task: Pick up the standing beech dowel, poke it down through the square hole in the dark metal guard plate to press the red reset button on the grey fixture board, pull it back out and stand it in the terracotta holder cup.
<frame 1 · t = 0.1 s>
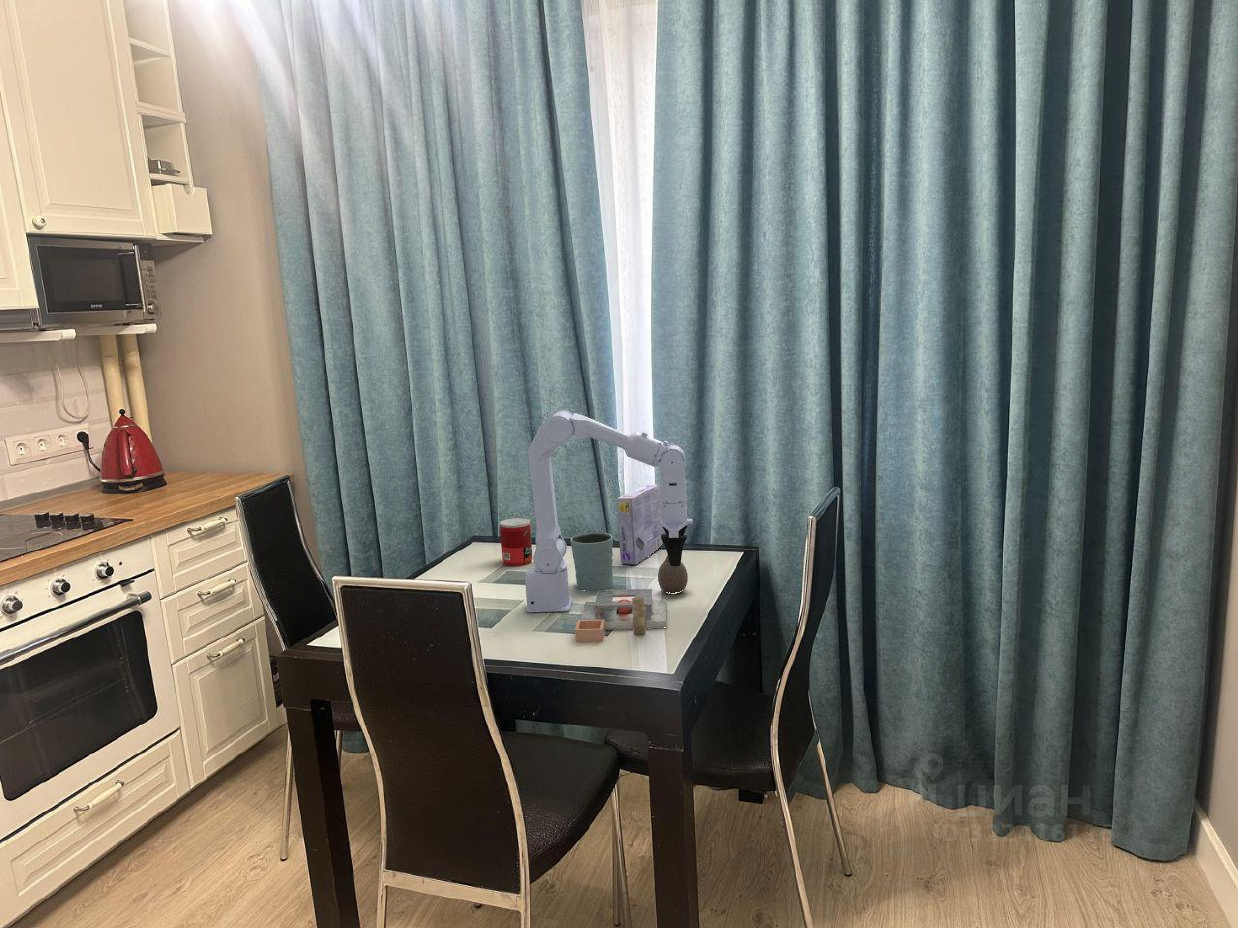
hand: (675, 560, 202), 10 cm above the table, tool pointing down, fingers open, 7 cm apart
grey fixture board: (624, 618, 196), on the table
vase: (673, 592, 212), on the table
holder: (590, 636, 187), on the table
canned food: (517, 562, 241), on the table
cake pan box: (642, 556, 242), on the table
stylus: (639, 633, 187), on the table
green cylindrical pot: (594, 586, 219), on the table
reset button: (624, 607, 196), point 2 cm above the table, slide at 0.0 cm
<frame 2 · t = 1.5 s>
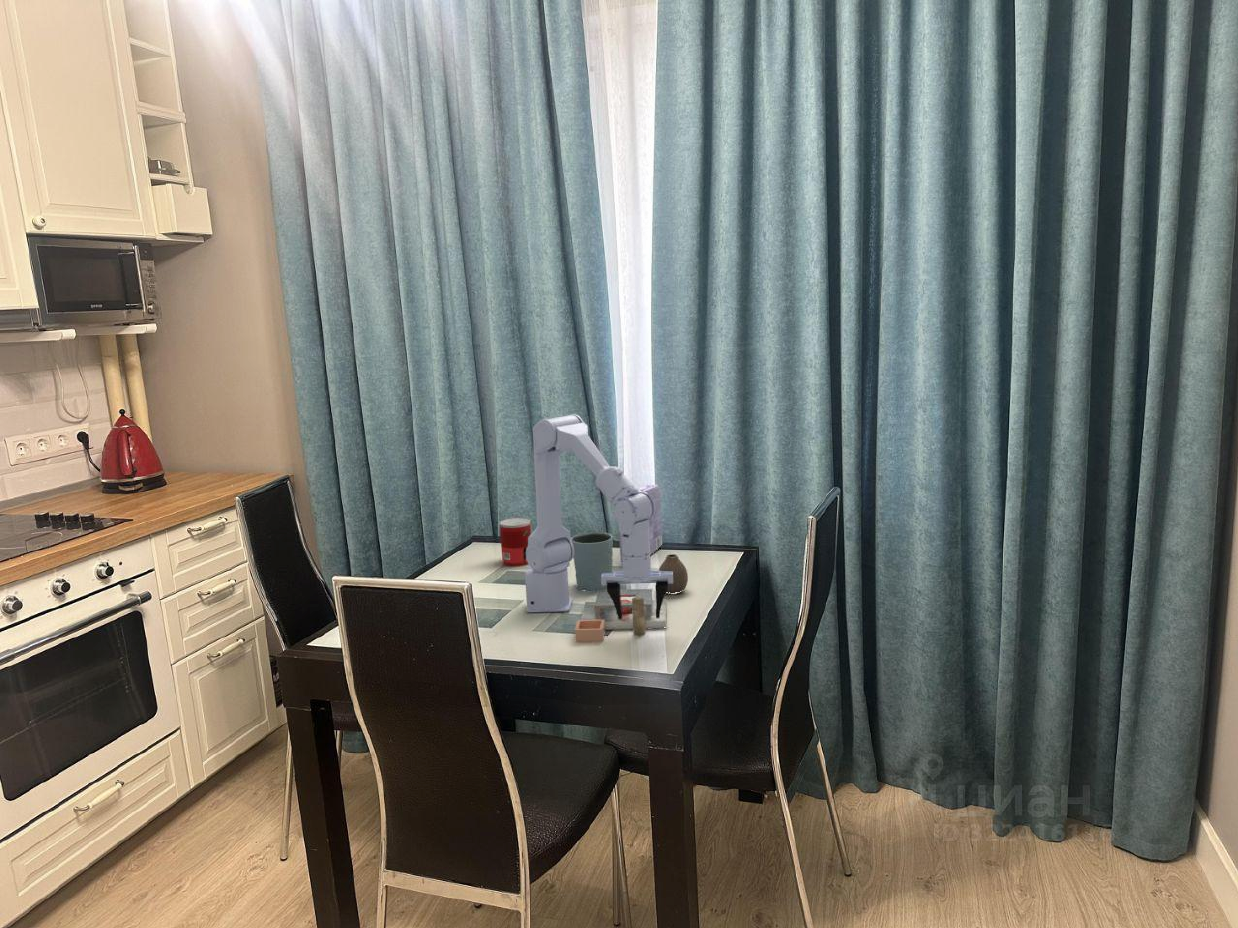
hand: (639, 617, 187), 4 cm above the table, tool pointing down, fingers open, 7 cm apart
nothing on the table moved.
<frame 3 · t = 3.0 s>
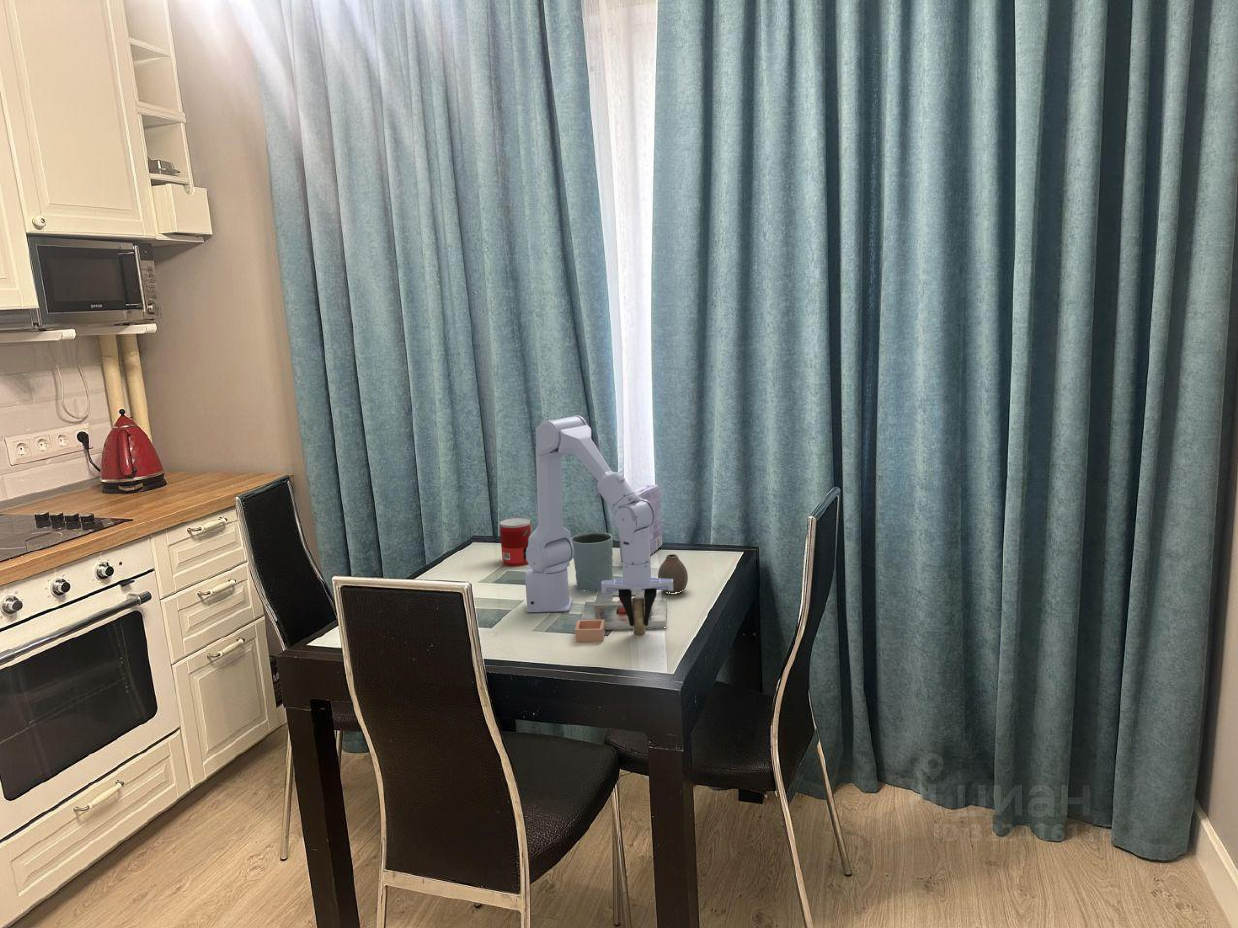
hand: (639, 624, 187), 2 cm above the table, tool pointing down, fingers closed on stylus, 2 cm apart
stylus: (639, 633, 187), on the table, touching gripper
everything else where it was.
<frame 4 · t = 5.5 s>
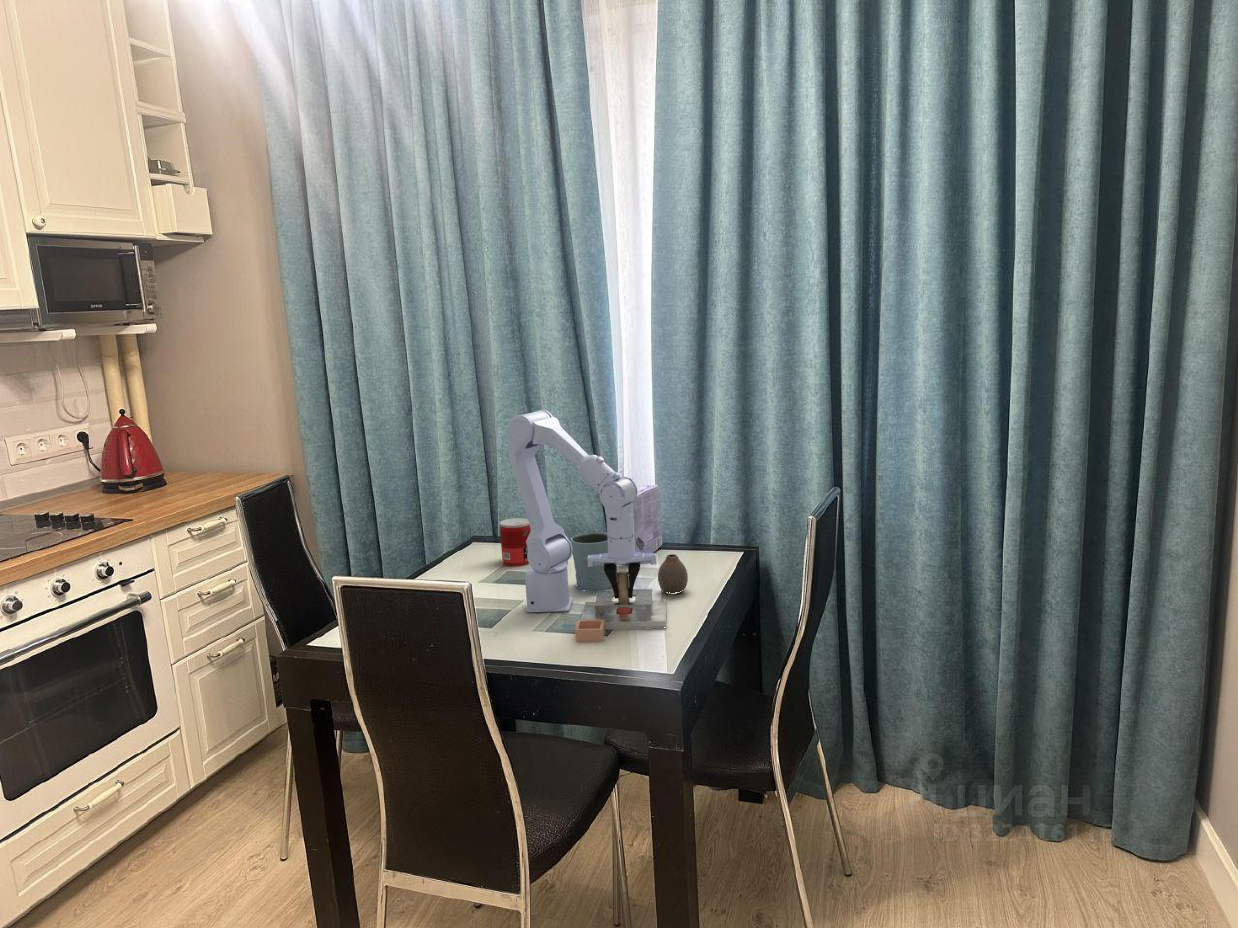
hand: (623, 596, 195), 5 cm above the table, tool pointing down, fingers closed on stylus, 2 cm apart
stylus: (624, 606, 196), point 3 cm above the table, touching gripper, reset button
reset button: (624, 611, 196), point 1 cm above the table, slide at 1.0 cm, touching stylus
everything else where it was.
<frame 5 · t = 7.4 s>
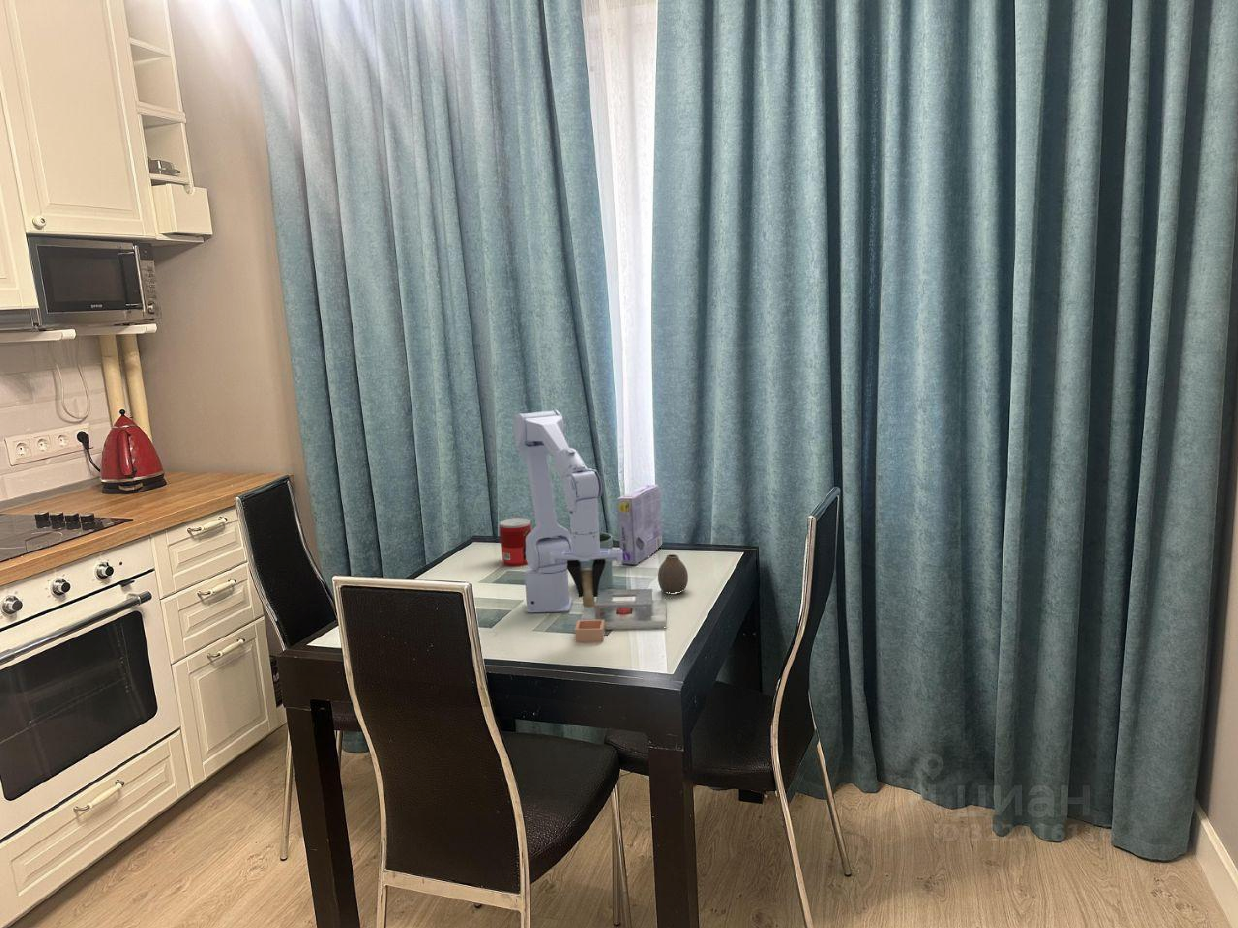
hand: (588, 595, 185), 9 cm above the table, tool pointing down, fingers closed on stylus, 2 cm apart
stylus: (588, 605, 186), point 7 cm above the table, touching gripper
reset button: (624, 611, 196), point 1 cm above the table, slide at 1.0 cm
everything else where it was.
when the fingers open (3 cm above the table, at t = 8.9 s): stylus stays where it is, resting on holder.
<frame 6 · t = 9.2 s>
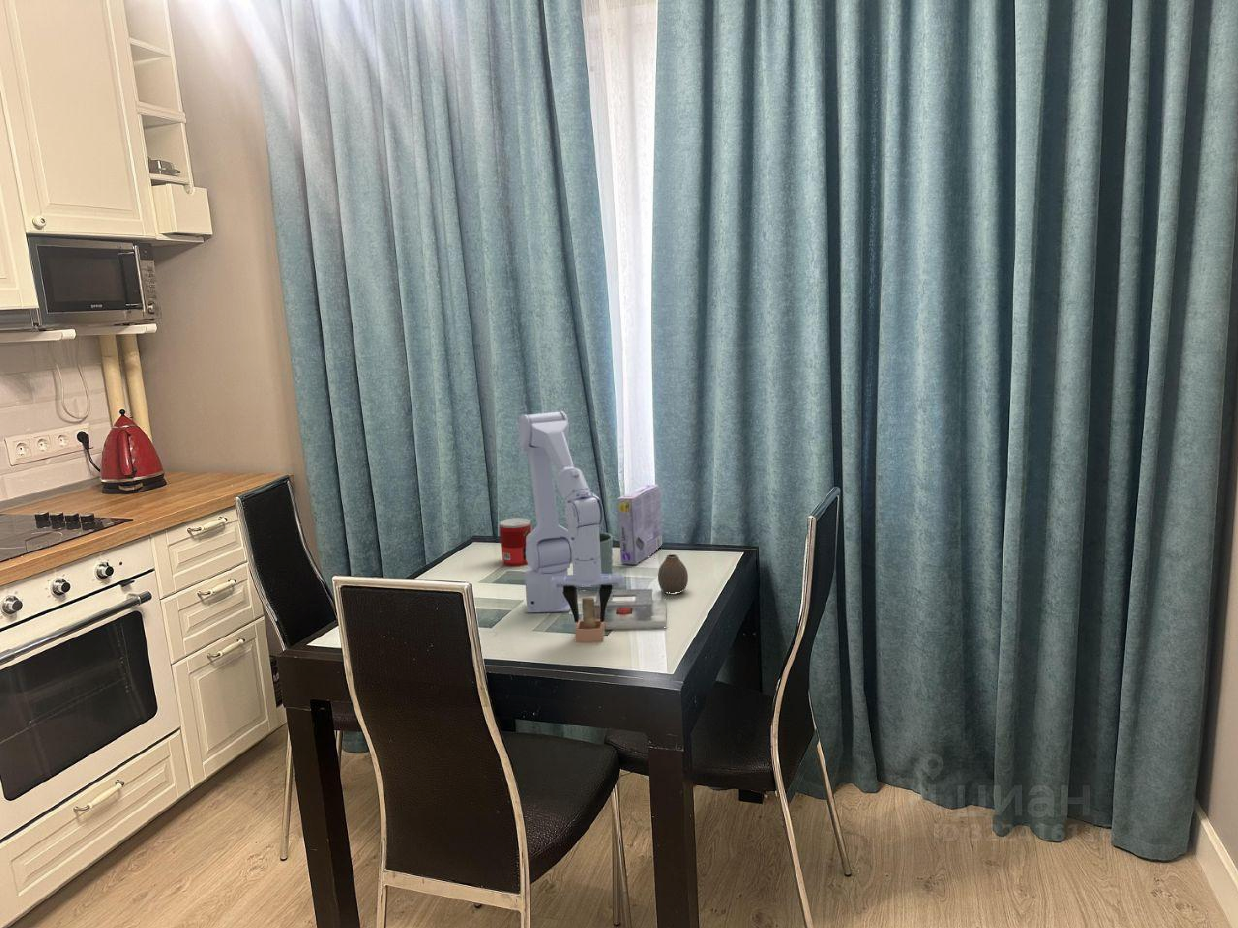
hand: (589, 620, 186), 3 cm above the table, tool pointing down, fingers open, 5 cm apart
stylus: (590, 634, 187), resting on holder
everything else where it was.
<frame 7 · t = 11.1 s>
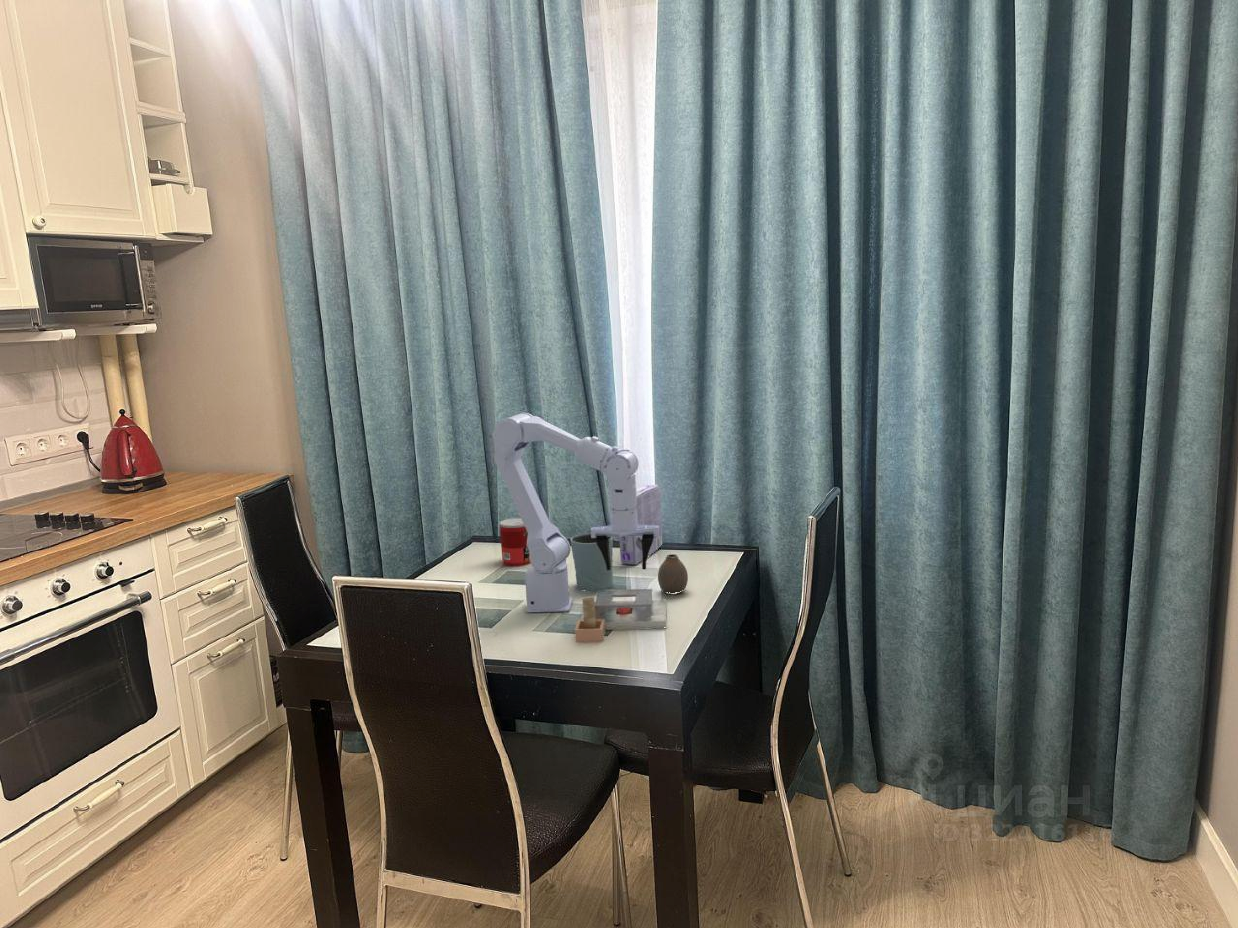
hand: (626, 568, 198), 10 cm above the table, tool pointing down, fingers open, 7 cm apart
nothing on the table moved.
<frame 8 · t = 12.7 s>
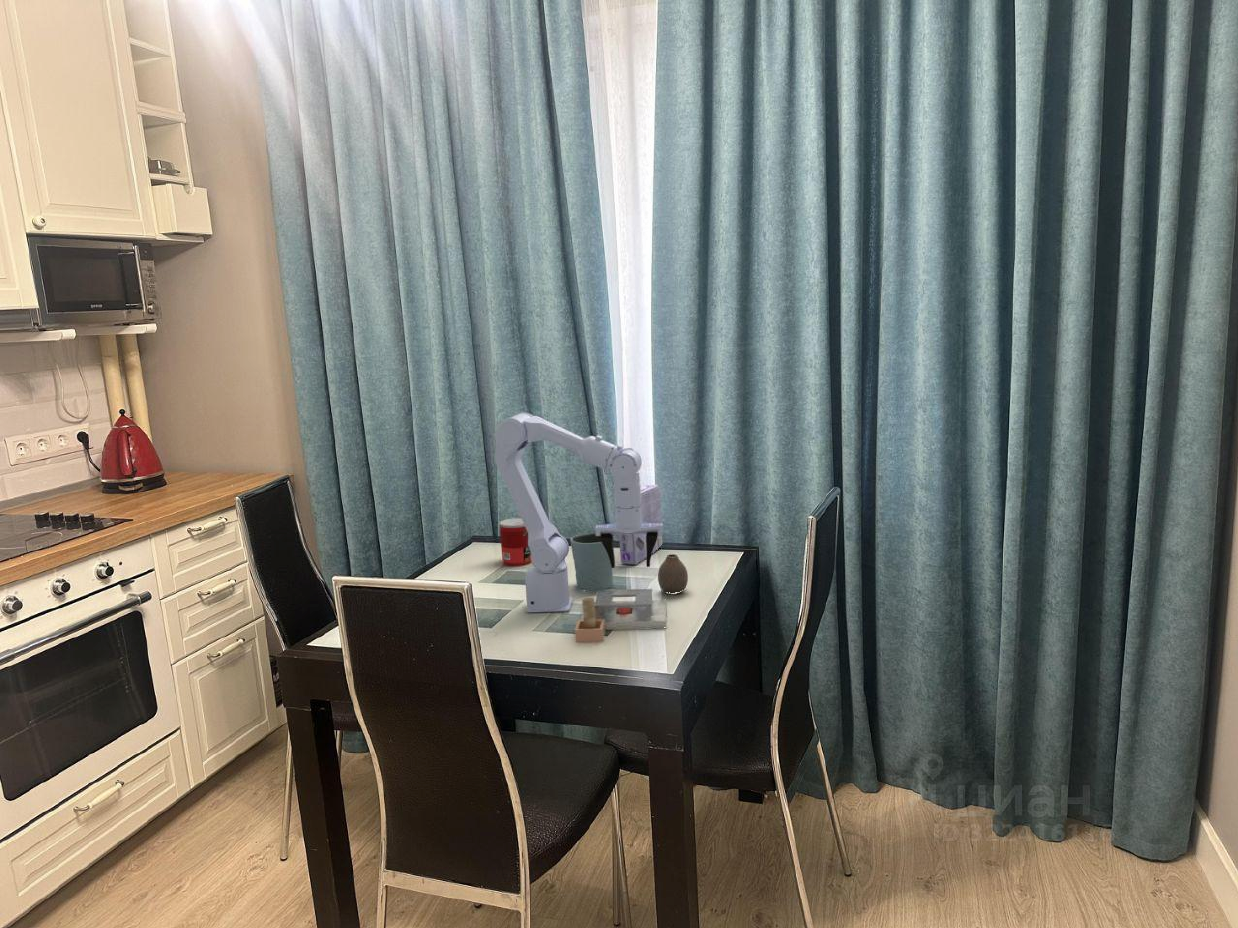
hand: (630, 566, 200), 10 cm above the table, tool pointing down, fingers open, 7 cm apart
nothing on the table moved.
at the end: reset button slide at 1.0 cm; stylus 0.0 cm off-centre on the holder, point 0.4 cm above the holder's base; the gripper is holding nothing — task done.
